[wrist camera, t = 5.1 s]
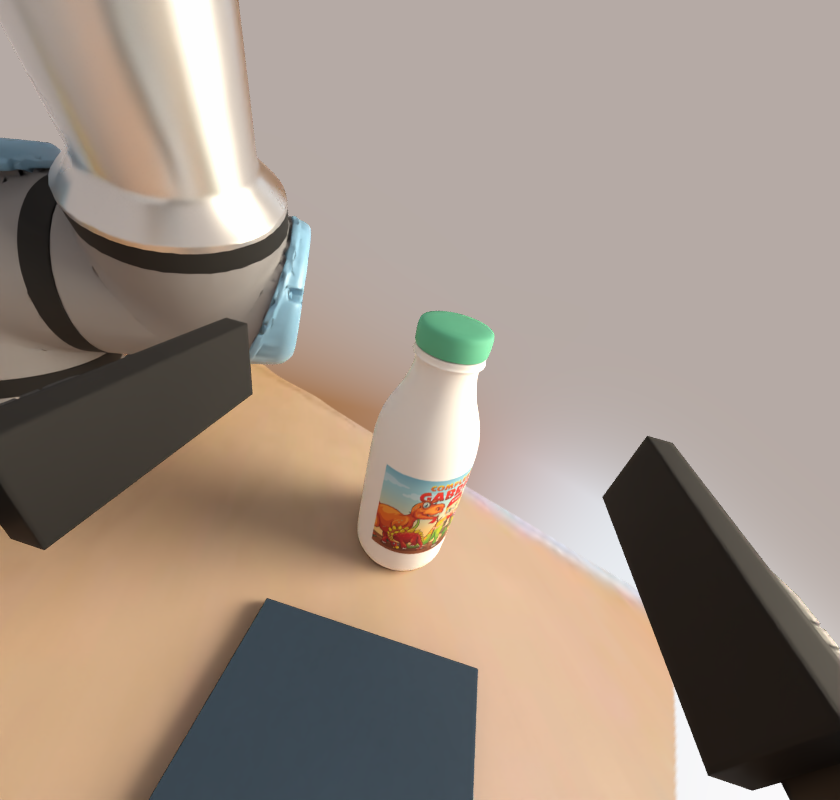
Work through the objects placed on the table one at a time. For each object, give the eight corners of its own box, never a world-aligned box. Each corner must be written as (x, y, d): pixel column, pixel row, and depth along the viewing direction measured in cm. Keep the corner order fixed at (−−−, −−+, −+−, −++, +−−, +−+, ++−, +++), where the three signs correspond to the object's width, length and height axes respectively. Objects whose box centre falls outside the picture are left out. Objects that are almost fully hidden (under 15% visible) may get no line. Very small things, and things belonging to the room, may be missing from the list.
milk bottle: (337, 541, 28) (365, 313, 17) (386, 486, 34) (429, 293, 23) (416, 594, 25) (504, 368, 15) (453, 524, 32) (534, 330, 21)
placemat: (110, 871, 14) (106, 870, 13) (267, 602, 23) (266, 597, 23) (460, 1011, 13) (465, 1014, 12) (475, 672, 22) (478, 668, 22)
